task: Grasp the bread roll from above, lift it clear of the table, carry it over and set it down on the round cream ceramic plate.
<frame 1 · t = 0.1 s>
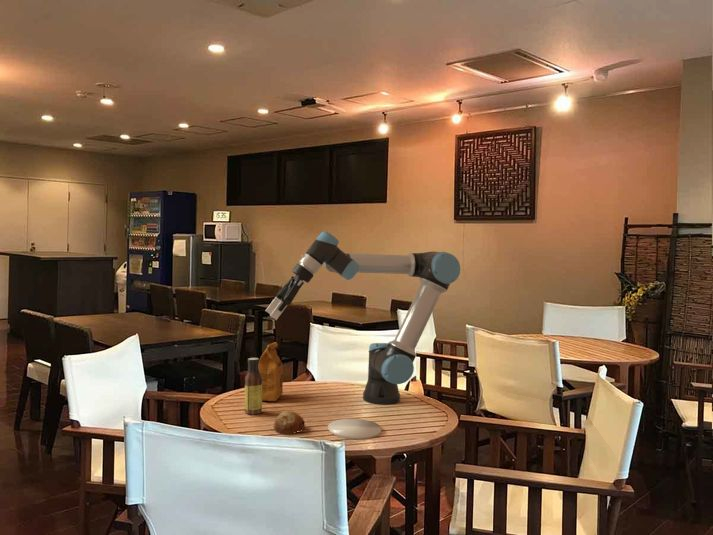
hand: (270, 315, 216), 36 cm above the table, tool tilted 35°, fingers open, 13 cm apart
plate: (354, 430, 203), on the table
bread roll: (289, 430, 201), on the table
sauce bottle: (252, 413, 218), on the table
coffee package: (269, 399, 238), on the table
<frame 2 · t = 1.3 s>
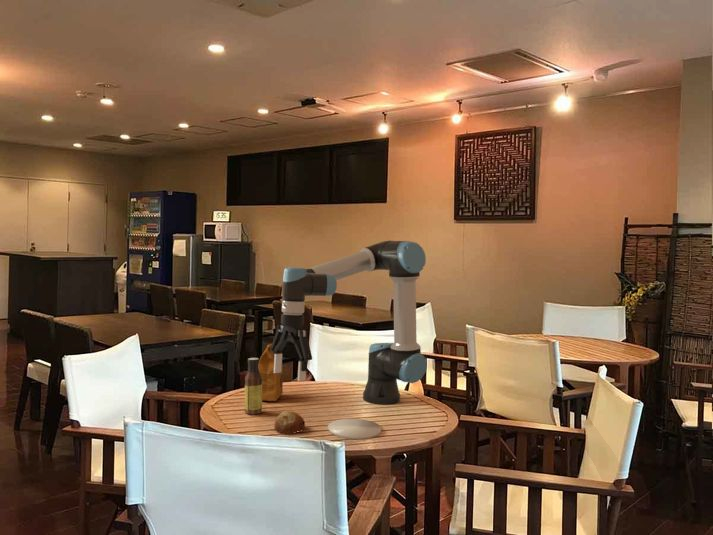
hand: (289, 376, 201), 18 cm above the table, tool pointing down, fingers open, 13 cm apart
nothing on the table moved.
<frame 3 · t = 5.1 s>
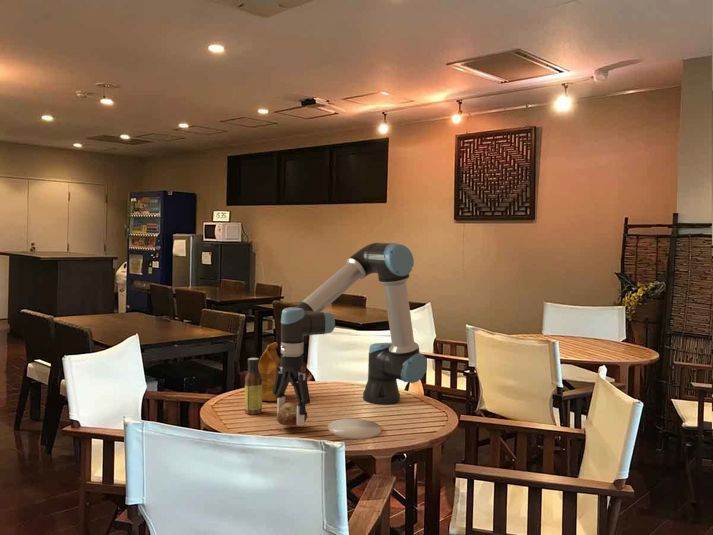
hand: (290, 420, 201), 3 cm above the table, tool pointing down, fingers closed on bread roll, 10 cm apart
bread roll: (292, 421, 201), point 2 cm above the table, touching gripper
everything else where it was.
when the fingers open (2 cm above the table, at t = 11.3 s): bread roll stays where it is, resting on plate.
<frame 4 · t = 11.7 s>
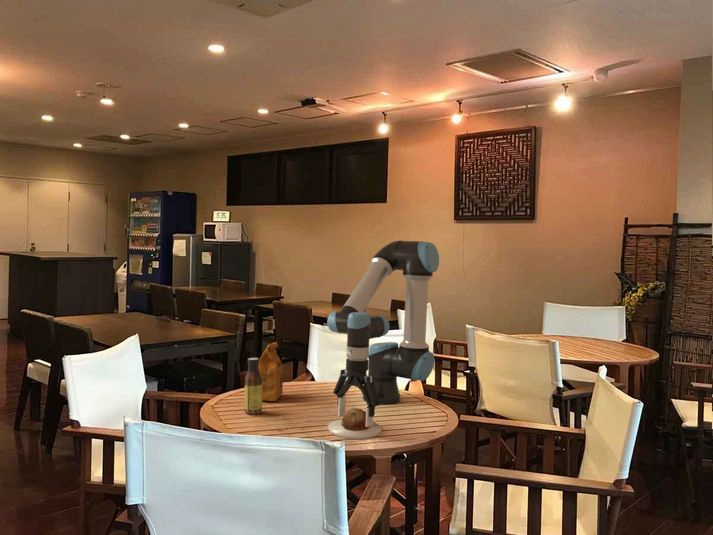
hand: (354, 421, 203), 3 cm above the table, tool pointing down, fingers open, 13 cm apart
bread roll: (356, 427, 203), point 1 cm above the table, touching plate
everything else where it was.
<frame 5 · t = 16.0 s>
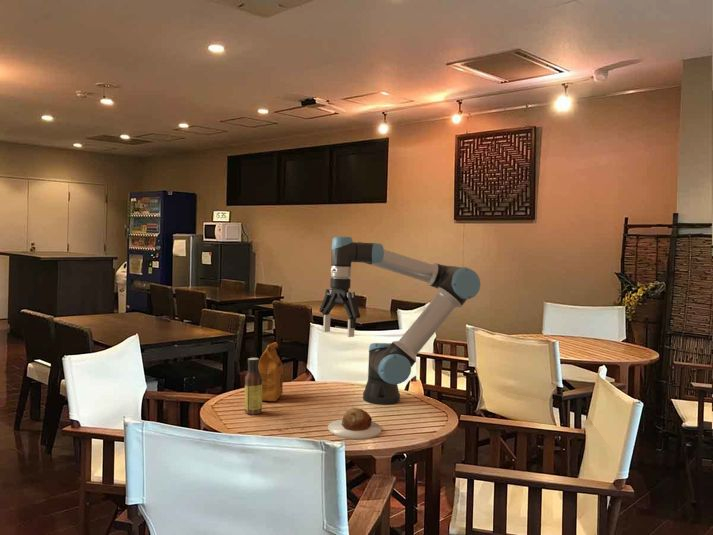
hand: (338, 334, 225), 29 cm above the table, tool pointing down, fingers open, 13 cm apart
nothing on the table moved.
at the end: bread roll 0.8 cm from the plate (horizontally); bread roll touching plate; the gripper is holding nothing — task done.
